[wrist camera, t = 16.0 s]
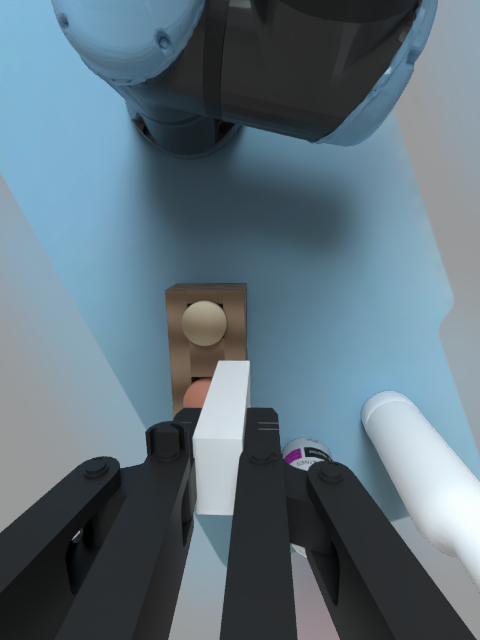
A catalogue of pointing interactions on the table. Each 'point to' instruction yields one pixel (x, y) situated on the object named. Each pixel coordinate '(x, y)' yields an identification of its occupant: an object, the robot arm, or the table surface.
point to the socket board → (195, 358)
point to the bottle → (427, 477)
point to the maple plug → (204, 322)
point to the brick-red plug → (197, 393)
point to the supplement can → (305, 460)
